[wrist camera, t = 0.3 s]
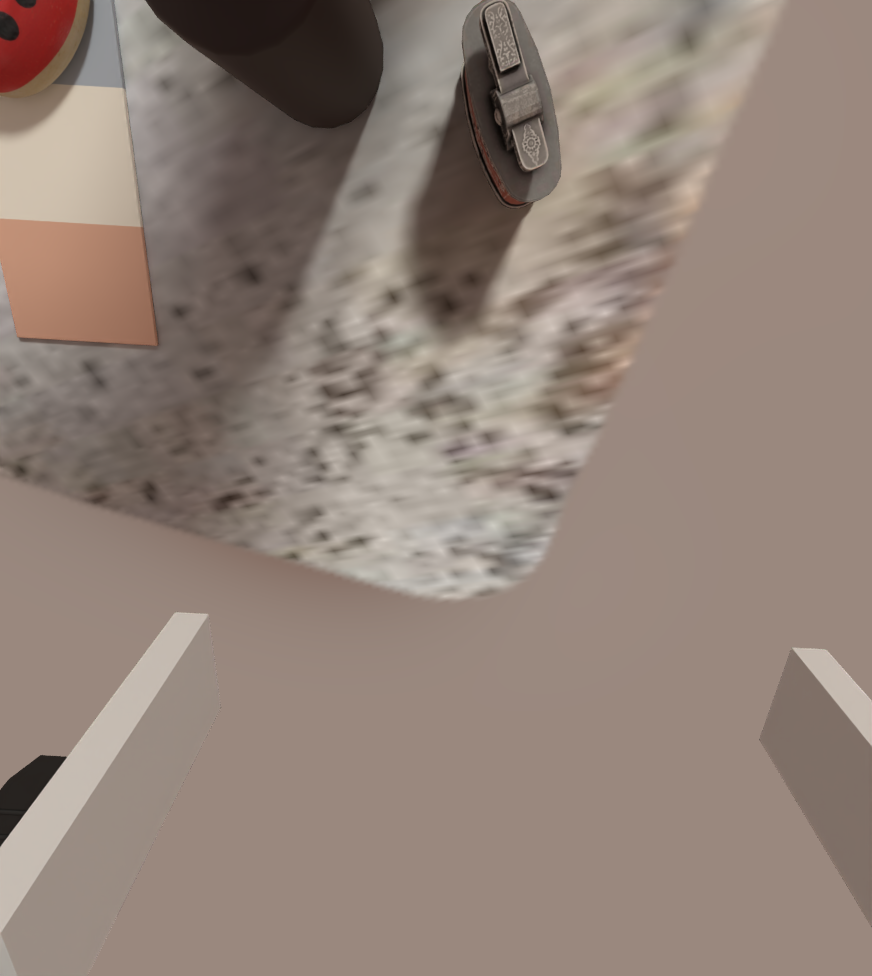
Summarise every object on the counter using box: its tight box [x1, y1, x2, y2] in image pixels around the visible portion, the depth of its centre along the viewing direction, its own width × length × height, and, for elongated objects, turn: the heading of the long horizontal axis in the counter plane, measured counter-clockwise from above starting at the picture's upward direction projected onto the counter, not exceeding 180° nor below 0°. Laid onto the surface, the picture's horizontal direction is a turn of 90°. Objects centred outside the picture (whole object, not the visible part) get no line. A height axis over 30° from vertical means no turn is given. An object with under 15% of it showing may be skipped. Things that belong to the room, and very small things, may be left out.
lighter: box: [461, 0, 561, 209], centre depth 28 cm, size 8×3×10 cm, turn 21°
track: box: [0, 0, 158, 346], centre depth 34 cm, size 21×9×1 cm, turn 177°
